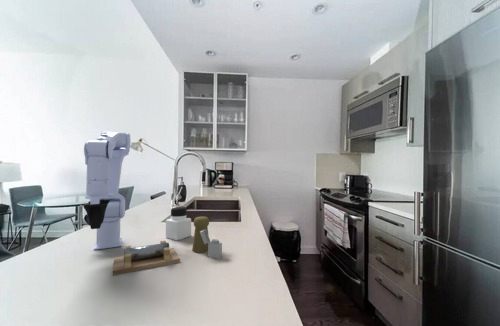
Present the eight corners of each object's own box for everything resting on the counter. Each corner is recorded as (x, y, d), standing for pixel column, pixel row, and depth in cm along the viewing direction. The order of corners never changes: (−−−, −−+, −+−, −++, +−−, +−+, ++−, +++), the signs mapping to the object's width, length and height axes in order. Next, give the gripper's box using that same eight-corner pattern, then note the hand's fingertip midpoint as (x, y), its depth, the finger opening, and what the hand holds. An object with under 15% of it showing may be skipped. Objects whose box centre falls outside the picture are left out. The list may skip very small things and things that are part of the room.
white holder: (222, 256, 70) (222, 230, 70) (219, 258, 69) (219, 232, 69) (202, 253, 72) (202, 228, 73) (199, 255, 71) (199, 230, 71)
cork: (206, 253, 73) (206, 219, 73) (188, 252, 74) (189, 218, 74) (212, 247, 79) (213, 215, 79) (196, 245, 80) (197, 214, 80)
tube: (124, 259, 65) (124, 247, 65) (167, 252, 71) (167, 240, 71) (123, 264, 62) (124, 251, 62) (169, 256, 68) (169, 244, 68)
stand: (114, 261, 67) (114, 247, 67) (173, 250, 75) (173, 238, 75) (112, 275, 58) (112, 259, 58) (179, 261, 66) (179, 248, 66)
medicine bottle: (191, 236, 91) (191, 206, 91) (177, 240, 85) (177, 209, 85) (179, 233, 95) (179, 204, 95) (165, 237, 89) (165, 207, 89)
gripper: (112, 180, 63) (111, 229, 62) (114, 179, 76) (114, 219, 75) (81, 181, 60) (80, 232, 59) (89, 179, 72) (88, 222, 72)
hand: (97, 225), depth 67 cm, fingers open, 7 cm apart
